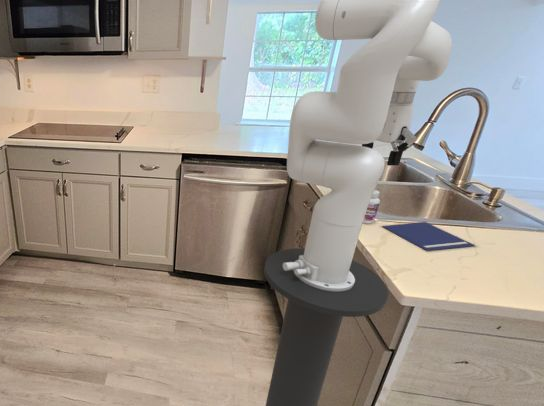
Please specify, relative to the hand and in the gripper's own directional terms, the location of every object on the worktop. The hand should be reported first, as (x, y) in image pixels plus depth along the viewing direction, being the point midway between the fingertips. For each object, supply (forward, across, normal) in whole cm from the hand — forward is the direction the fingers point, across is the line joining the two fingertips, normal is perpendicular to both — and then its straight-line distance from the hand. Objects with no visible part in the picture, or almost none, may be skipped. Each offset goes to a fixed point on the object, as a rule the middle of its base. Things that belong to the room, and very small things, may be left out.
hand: (378, 160), depth 103 cm
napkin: (+19, +12, +10) cm, 25 cm away
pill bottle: (+19, 0, +1) cm, 19 cm away
